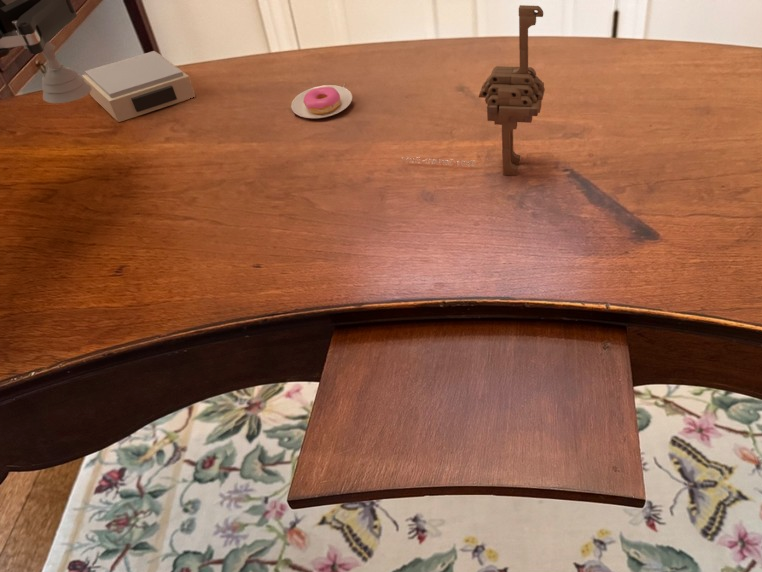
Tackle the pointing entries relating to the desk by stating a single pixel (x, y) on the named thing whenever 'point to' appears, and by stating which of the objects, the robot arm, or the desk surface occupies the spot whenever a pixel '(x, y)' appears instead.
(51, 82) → the chalice
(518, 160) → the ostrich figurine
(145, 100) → the scale
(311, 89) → the donut
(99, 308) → the desk surface
